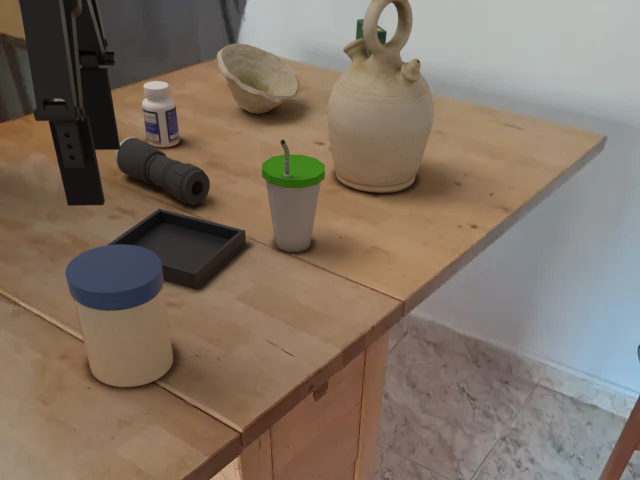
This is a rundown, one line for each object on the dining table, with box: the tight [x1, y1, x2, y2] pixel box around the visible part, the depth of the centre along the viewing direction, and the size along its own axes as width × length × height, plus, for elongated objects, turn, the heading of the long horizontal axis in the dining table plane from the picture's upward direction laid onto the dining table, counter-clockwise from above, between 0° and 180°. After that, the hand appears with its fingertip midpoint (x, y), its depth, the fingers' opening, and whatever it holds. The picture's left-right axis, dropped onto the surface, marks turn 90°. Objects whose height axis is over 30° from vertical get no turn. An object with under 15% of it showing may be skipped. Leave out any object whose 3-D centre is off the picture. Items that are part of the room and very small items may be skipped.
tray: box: [105, 208, 247, 290], centre depth 87 cm, size 13×12×2 cm
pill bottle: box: [141, 80, 180, 148], centre depth 111 cm, size 5×5×9 cm
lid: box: [64, 244, 165, 310], centre depth 64 cm, size 9×9×2 cm
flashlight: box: [114, 136, 211, 206], centre depth 99 cm, size 15×5×5 cm, turn 49°
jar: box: [72, 286, 174, 388], centre depth 67 cm, size 8×8×10 cm
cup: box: [261, 139, 326, 253], centre depth 85 cm, size 8×8×15 cm
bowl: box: [216, 43, 300, 114], centre depth 123 cm, size 15×14×10 cm
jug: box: [326, 0, 434, 194], centre depth 98 cm, size 15×16×25 cm
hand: (96, 173), depth 57 cm, fingers open, 10 cm apart
